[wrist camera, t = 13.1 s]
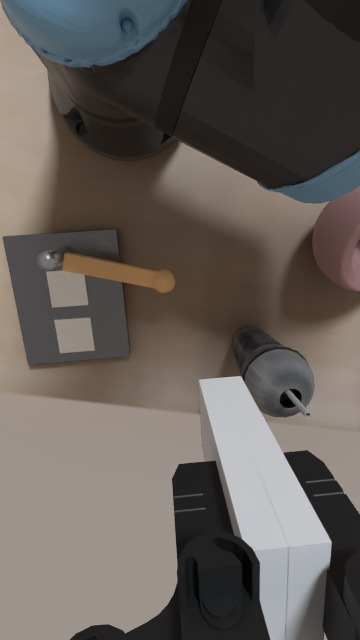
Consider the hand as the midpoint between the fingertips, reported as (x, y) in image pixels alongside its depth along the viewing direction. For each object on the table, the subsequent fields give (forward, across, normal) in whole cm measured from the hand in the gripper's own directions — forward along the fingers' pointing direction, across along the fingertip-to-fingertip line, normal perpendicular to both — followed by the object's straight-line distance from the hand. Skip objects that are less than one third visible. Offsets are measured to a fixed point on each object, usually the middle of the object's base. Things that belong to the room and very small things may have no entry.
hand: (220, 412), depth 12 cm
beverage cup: (+33, +9, -10) cm, 35 cm away
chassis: (+32, -13, -2) cm, 35 cm away
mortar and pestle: (+33, +22, +4) cm, 39 cm away
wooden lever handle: (+28, -6, +2) cm, 28 cm away
